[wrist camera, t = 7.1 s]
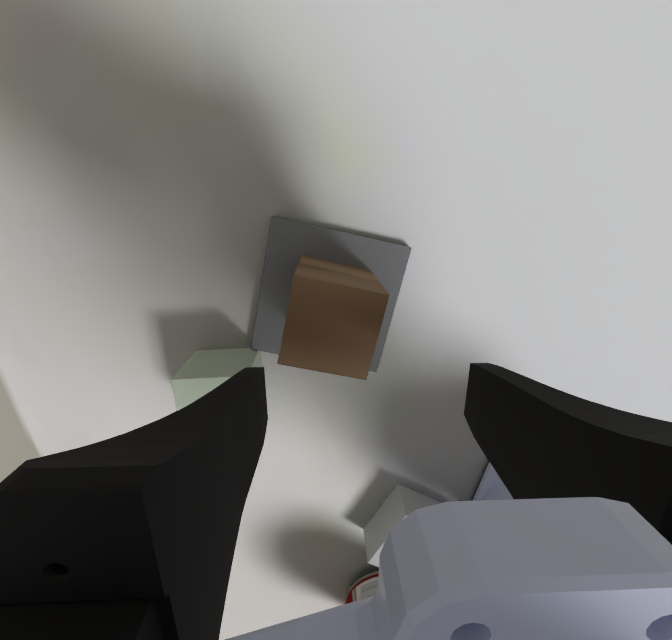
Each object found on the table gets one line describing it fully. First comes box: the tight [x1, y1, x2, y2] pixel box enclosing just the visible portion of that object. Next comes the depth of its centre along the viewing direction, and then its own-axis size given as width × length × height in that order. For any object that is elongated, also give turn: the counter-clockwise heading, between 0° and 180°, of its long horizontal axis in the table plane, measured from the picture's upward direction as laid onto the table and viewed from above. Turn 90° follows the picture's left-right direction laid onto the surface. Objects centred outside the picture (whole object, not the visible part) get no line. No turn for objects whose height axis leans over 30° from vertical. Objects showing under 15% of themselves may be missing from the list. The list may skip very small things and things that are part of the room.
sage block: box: [171, 348, 262, 411], centre depth 21 cm, size 4×4×4 cm
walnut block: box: [277, 255, 390, 380], centre depth 17 cm, size 4×4×6 cm
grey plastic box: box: [364, 484, 441, 567], centre depth 26 cm, size 6×5×3 cm
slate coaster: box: [251, 216, 411, 372], centre depth 21 cm, size 8×8×1 cm
